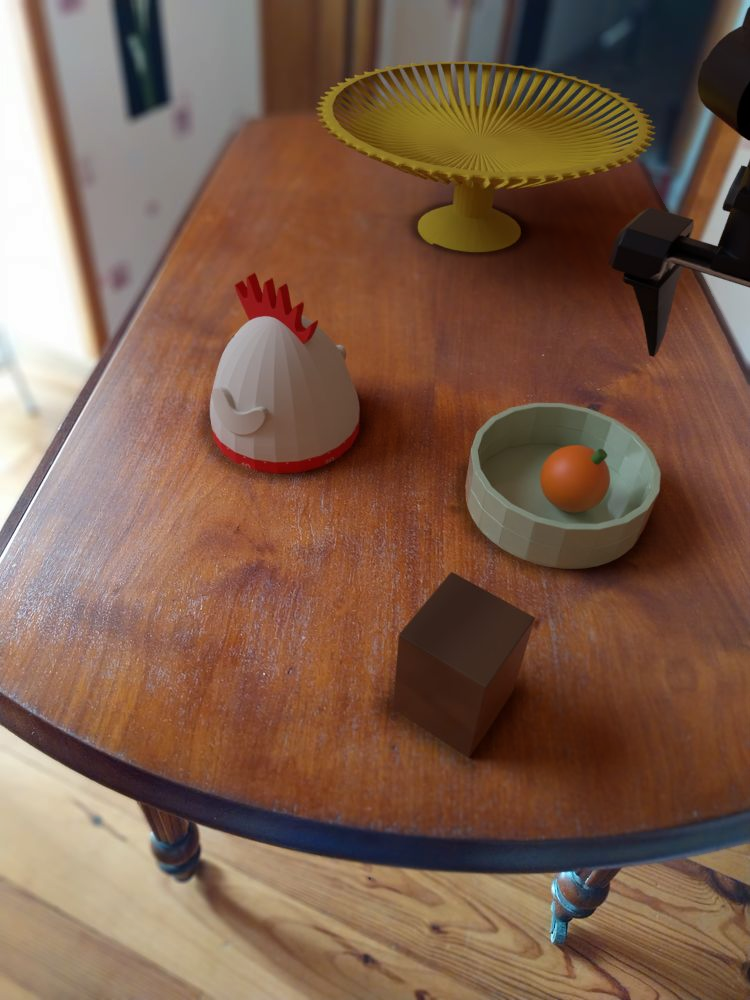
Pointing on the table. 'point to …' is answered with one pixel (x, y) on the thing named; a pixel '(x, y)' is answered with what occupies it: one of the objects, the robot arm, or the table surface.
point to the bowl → (522, 504)
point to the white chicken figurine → (282, 388)
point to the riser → (459, 662)
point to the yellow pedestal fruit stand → (482, 141)
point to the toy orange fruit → (575, 478)
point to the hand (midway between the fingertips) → (710, 375)
